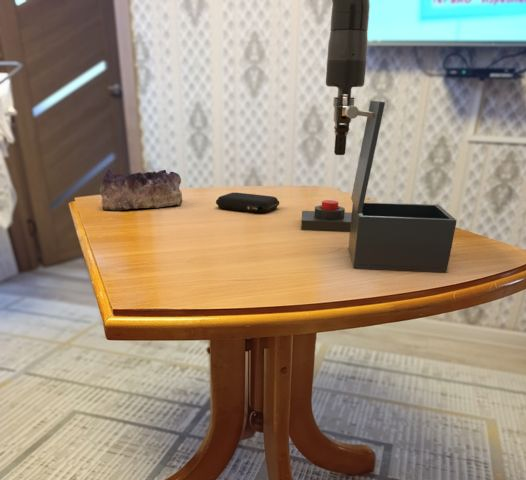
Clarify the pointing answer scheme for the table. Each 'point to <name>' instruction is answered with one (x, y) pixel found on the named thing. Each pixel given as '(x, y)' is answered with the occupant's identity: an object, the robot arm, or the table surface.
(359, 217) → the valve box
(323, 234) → the table surface
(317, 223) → the button block
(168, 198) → the geode
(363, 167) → the hinged box lid
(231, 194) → the carrying case
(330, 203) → the red button
